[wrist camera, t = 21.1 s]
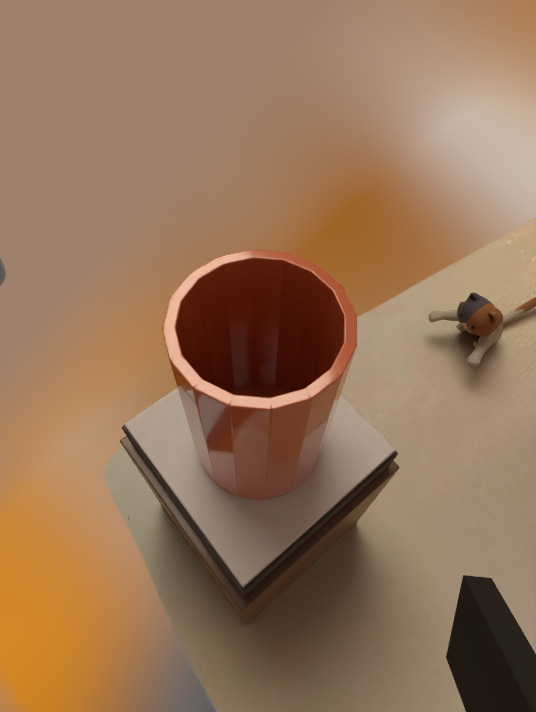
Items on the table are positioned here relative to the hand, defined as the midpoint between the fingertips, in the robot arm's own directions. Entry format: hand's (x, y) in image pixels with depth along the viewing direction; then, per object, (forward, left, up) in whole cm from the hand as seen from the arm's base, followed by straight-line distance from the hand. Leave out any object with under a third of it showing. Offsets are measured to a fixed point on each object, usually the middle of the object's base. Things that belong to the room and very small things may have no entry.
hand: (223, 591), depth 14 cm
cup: (-7, +7, -12) cm, 15 cm away
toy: (-6, +41, -31) cm, 52 cm away
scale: (-7, +7, -15) cm, 18 cm away
